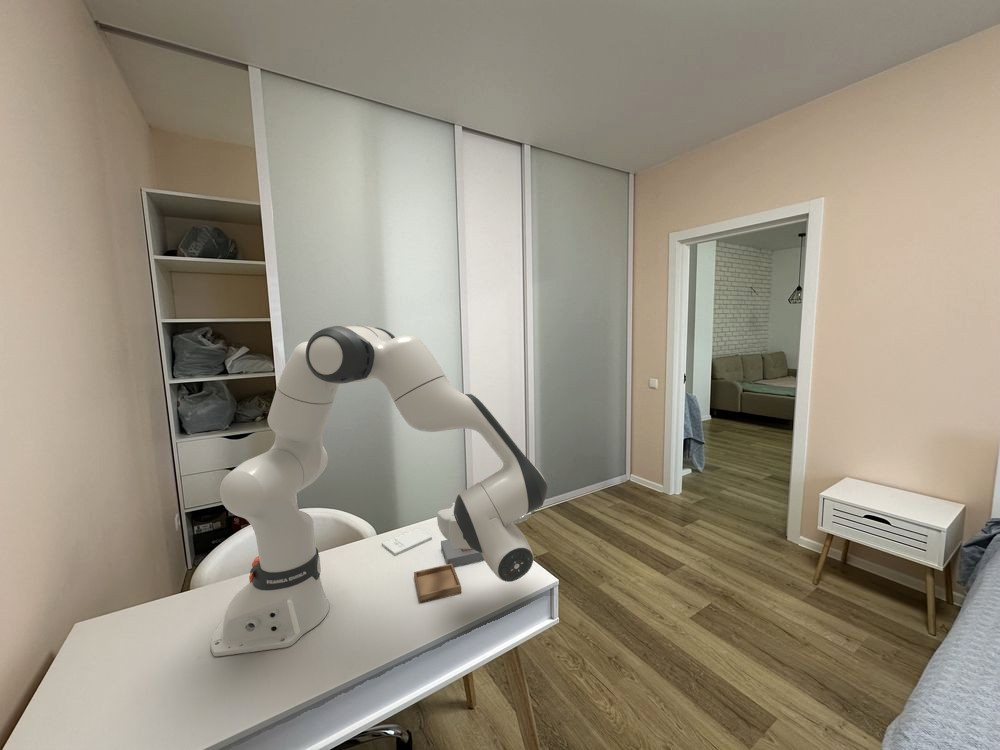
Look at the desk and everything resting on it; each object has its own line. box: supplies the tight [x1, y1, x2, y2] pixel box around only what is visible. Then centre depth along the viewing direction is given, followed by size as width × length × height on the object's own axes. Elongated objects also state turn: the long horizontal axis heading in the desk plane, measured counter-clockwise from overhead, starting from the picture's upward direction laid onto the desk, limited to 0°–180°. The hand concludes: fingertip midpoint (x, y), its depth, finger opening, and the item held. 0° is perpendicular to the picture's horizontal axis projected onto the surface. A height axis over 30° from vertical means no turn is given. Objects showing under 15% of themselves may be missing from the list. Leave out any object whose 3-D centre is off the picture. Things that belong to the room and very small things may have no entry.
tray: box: [413, 564, 462, 604], centre depth 99 cm, size 10×10×2 cm
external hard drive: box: [381, 527, 433, 557], centre depth 120 cm, size 2×8×12 cm
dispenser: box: [440, 539, 485, 568], centre depth 113 cm, size 12×10×3 cm
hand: (473, 501), depth 99 cm, fingers open, 8 cm apart
